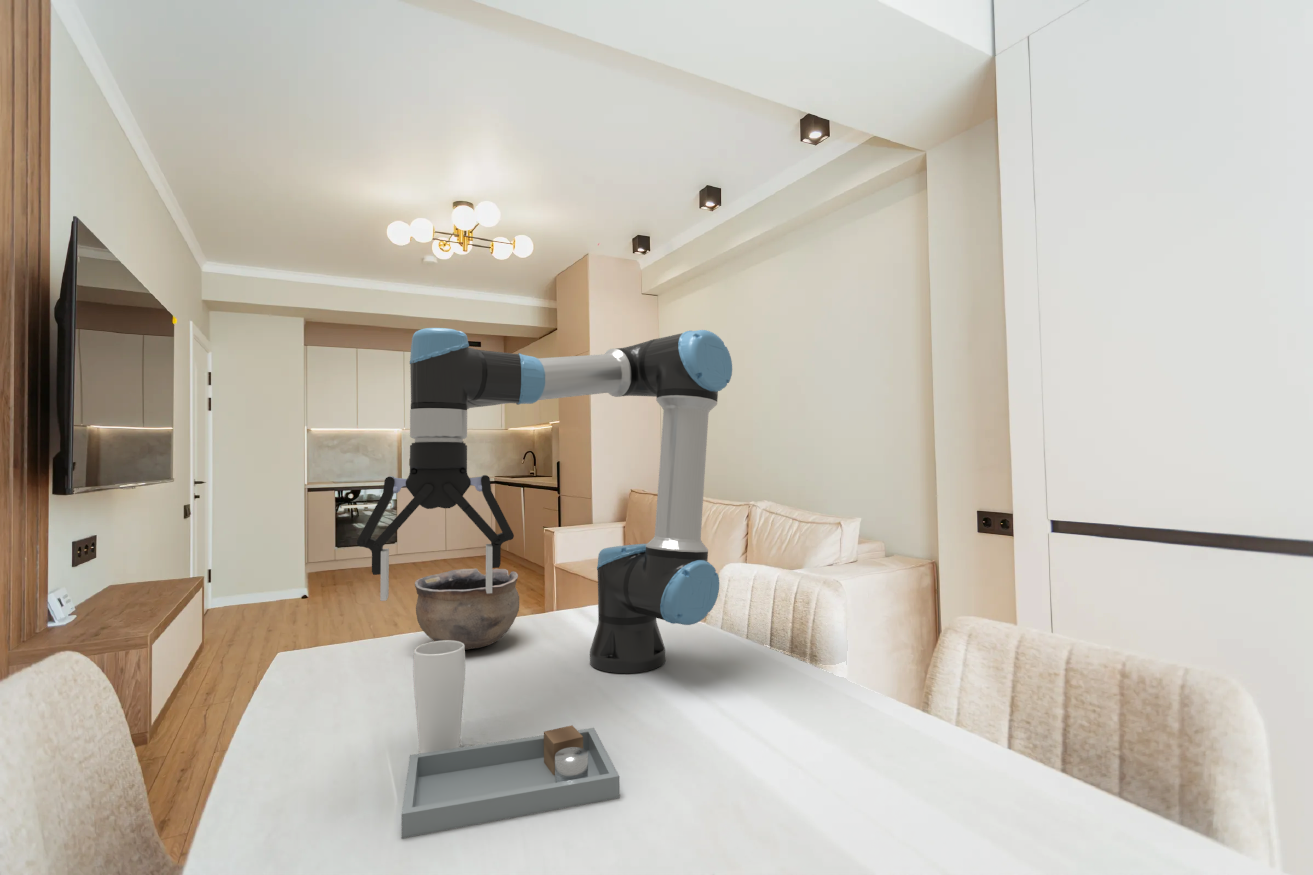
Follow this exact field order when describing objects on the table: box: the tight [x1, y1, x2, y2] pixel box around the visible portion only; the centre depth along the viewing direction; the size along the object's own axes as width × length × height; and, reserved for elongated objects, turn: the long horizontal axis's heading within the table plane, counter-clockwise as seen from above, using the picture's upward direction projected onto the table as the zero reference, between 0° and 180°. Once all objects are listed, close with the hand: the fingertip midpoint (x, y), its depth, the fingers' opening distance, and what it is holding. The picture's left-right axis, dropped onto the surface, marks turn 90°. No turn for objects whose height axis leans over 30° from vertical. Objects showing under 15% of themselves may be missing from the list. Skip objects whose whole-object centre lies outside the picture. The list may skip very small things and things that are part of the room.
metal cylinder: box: [555, 747, 588, 783], centre depth 77 cm, size 4×4×4 cm
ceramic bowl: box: [414, 568, 520, 650], centre depth 137 cm, size 22×22×15 cm
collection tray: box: [401, 727, 621, 839], centre depth 77 cm, size 24×14×3 cm, turn 108°
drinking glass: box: [412, 640, 466, 754], centre depth 86 cm, size 7×7×15 cm
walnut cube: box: [543, 724, 583, 775], centre depth 82 cm, size 4×4×4 cm
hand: (438, 595), depth 86 cm, fingers open, 13 cm apart
